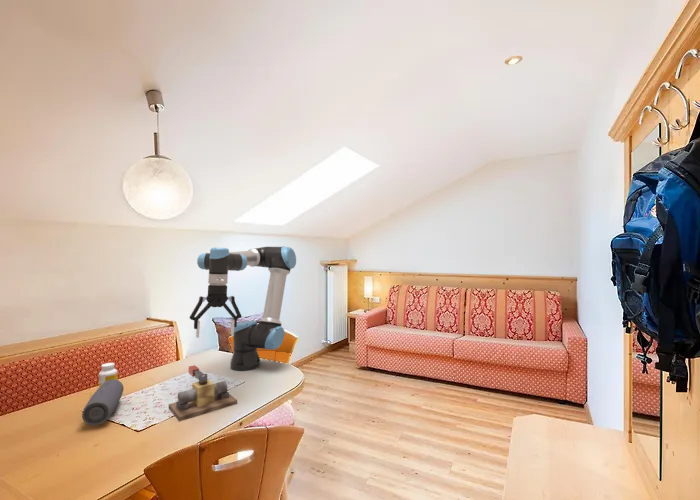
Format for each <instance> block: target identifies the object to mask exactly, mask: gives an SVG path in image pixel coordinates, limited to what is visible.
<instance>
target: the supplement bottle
mask: <svg viewBox="0 0 700 500" xmlns="http://www.w3.org/2000/svg"><path fill="white" fill-rule="evenodd" d="M112 379H115V380H118V369H117V368H115V363H114V362H106V363H103V364H101V370H100V372H99V373H98V388H99V387H100V386H101V385H102V384H103V383H105V382H106V381H108V380H112Z"/></svg>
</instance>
